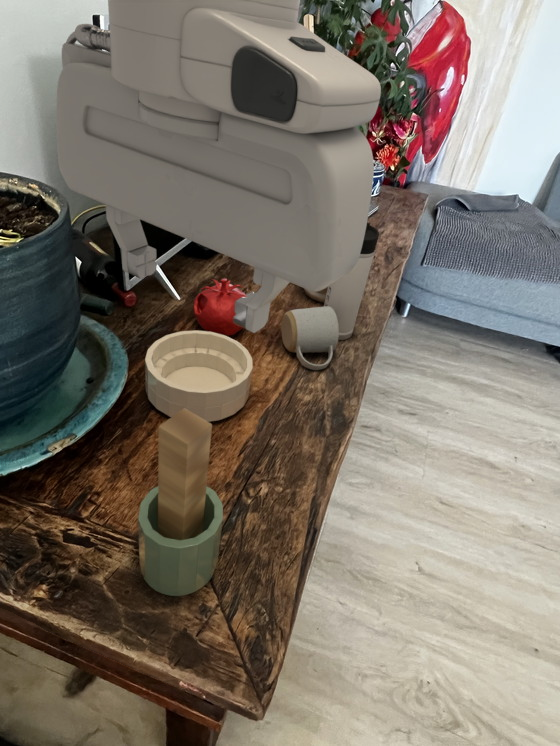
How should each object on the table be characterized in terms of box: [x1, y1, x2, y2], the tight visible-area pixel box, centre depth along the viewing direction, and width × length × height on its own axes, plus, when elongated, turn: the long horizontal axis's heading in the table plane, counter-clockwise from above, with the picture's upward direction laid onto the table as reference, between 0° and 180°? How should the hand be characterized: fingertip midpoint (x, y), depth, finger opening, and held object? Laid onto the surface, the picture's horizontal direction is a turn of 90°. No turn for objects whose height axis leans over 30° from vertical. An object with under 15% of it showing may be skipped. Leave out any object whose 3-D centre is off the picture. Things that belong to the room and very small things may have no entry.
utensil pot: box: [137, 485, 224, 597], centre depth 48 cm, size 8×8×8 cm
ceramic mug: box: [280, 306, 339, 371], centre depth 82 cm, size 11×8×8 cm
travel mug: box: [323, 221, 380, 341], centre depth 86 cm, size 6×7×20 cm
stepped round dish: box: [144, 329, 254, 423], centre depth 70 cm, size 15×15×6 cm
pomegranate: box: [193, 278, 247, 337], centre depth 85 cm, size 10×10×9 cm
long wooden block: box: [157, 408, 213, 540], centre depth 45 cm, size 3×3×18 cm
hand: (192, 298), depth 33 cm, fingers open, 8 cm apart
